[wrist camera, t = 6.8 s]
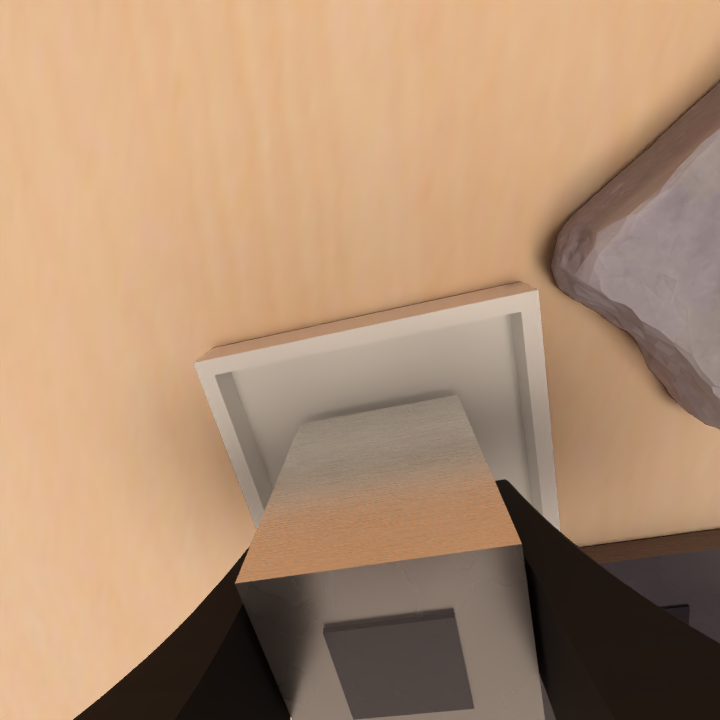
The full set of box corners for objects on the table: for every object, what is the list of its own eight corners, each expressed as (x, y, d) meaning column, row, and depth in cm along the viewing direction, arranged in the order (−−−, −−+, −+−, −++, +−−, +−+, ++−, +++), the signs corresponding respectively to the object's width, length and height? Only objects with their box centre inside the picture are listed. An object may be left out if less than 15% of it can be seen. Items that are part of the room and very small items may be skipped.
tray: (547, 541, 15) (564, 574, 14) (295, 576, 17) (287, 610, 15) (520, 281, 12) (538, 289, 11) (213, 347, 13) (193, 363, 12)
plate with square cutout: (721, 693, 17) (737, 716, 17) (320, 729, 20) (317, 751, 19) (733, 527, 15) (754, 545, 14) (264, 590, 17) (258, 609, 16)
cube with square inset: (479, 526, 14) (549, 746, 8) (338, 547, 14) (308, 765, 9) (457, 394, 12) (523, 548, 6) (299, 424, 13) (232, 588, 7)
